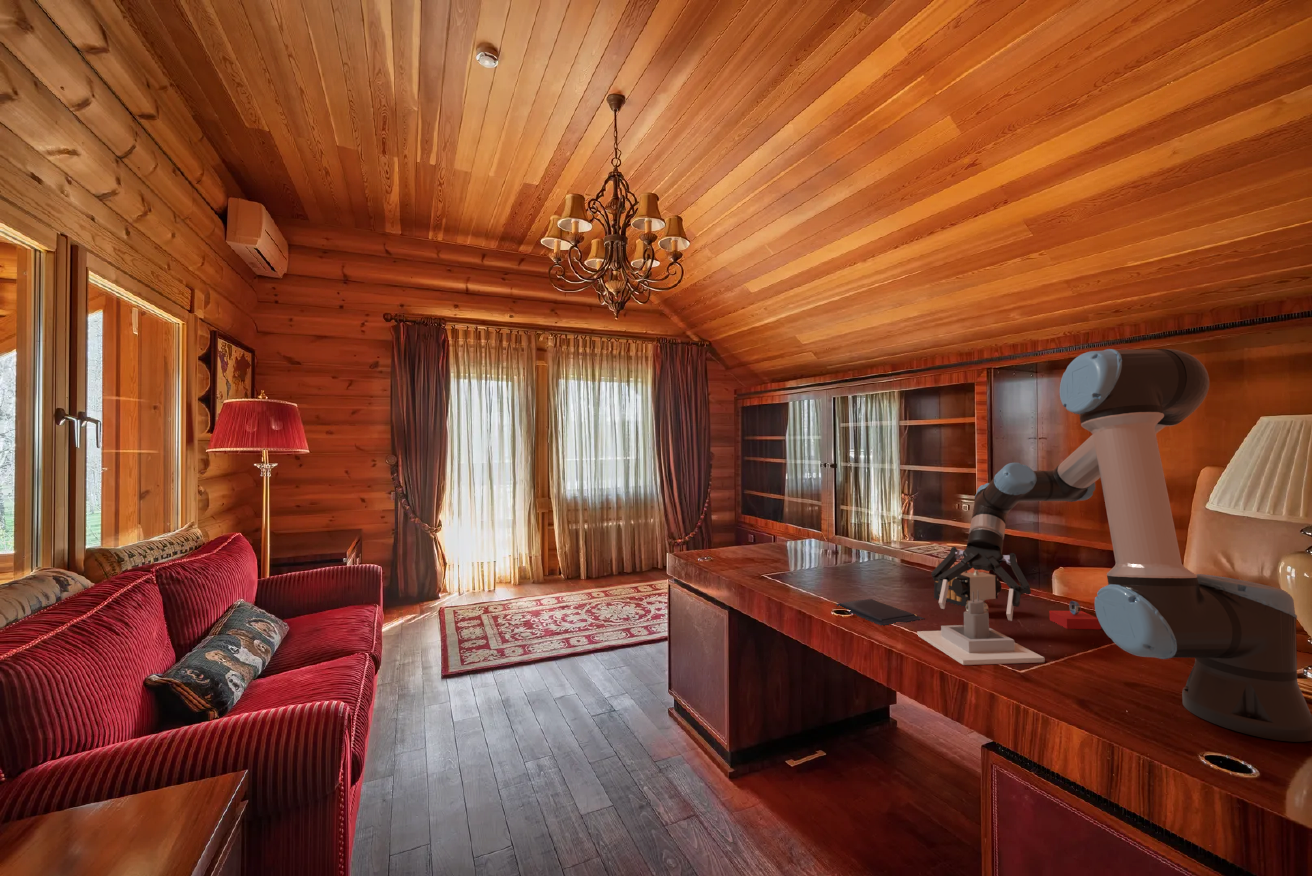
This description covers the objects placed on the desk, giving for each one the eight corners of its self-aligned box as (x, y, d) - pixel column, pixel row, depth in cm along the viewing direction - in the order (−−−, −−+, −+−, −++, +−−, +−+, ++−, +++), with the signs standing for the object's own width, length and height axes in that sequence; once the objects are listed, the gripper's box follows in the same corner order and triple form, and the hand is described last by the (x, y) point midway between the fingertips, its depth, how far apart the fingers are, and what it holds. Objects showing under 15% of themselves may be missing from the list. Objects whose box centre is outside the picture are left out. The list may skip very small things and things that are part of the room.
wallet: (831, 601, 157) (873, 595, 162) (831, 607, 157) (873, 602, 162) (880, 621, 138) (926, 615, 143) (880, 629, 138) (926, 622, 143)
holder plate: (1044, 662, 114) (1044, 645, 114) (963, 665, 113) (962, 648, 113) (988, 633, 132) (987, 619, 132) (917, 635, 131) (917, 621, 131)
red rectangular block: (1081, 621, 141) (1081, 597, 141) (1101, 630, 134) (1100, 605, 134) (1049, 621, 142) (1049, 597, 142) (1067, 629, 135) (1066, 604, 135)
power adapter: (990, 643, 123) (989, 591, 123) (976, 647, 120) (975, 594, 121) (977, 639, 126) (976, 588, 126) (962, 643, 123) (961, 591, 123)
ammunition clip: (933, 598, 163) (933, 558, 163) (938, 597, 164) (937, 558, 164) (966, 607, 153) (965, 565, 154) (971, 606, 154) (970, 565, 154)
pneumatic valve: (1002, 615, 146) (1001, 571, 146) (963, 618, 144) (962, 573, 144) (987, 609, 151) (986, 567, 151) (949, 612, 150) (948, 568, 150)
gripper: (1048, 552, 128) (1042, 631, 116) (934, 541, 145) (919, 609, 133) (1045, 532, 124) (1038, 613, 113) (928, 523, 141) (912, 592, 129)
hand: (974, 611), depth 123 cm, fingers open, 13 cm apart
